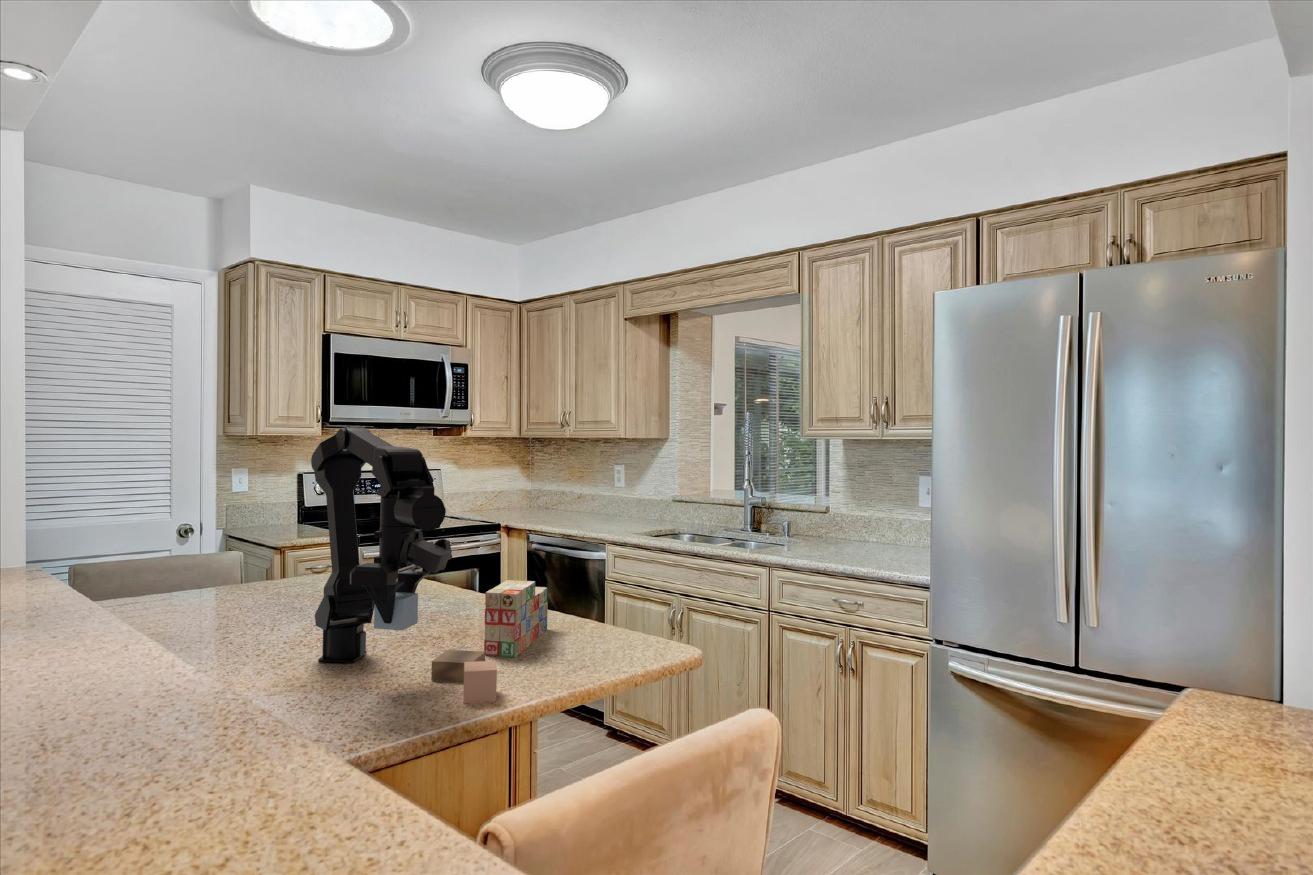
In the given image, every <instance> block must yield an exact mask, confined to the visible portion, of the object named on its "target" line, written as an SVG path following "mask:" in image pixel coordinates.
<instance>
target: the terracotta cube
mask: <svg viewBox="0 0 1313 875" xmlns="http://www.w3.org/2000/svg"><path fill="white" fill-rule="evenodd" d="M497 675H498V667H497V660H485V661H478V662H464V682H463V698H462V699H463V701H462V702H463V704H470V703H472V704H474V703H488V702H489V703H491V702H497V681H498V680H497V679H498V676H497Z"/></svg>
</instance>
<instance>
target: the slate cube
mask: <svg viewBox="0 0 1313 875" xmlns="http://www.w3.org/2000/svg"><path fill="white" fill-rule="evenodd" d="M418 606H419V593H417V592H415V593H405V592H396V595H395V603H394V611H393V617H392V622H391V623H390V624H387V623H384V622H383V620H382V618H381V615H380V613H379V611H378V609H377V607H376V605H374V611H373V615H374V616H373V629H374V630H375V629H376V630H377V629H378V630H391V631H405V630H407V629H409V628H411V627H412V626H414V625H417V624H418V621H419V620H418V618H419V617H418V612H419V607H418Z"/></svg>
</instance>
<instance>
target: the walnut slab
mask: <svg viewBox="0 0 1313 875" xmlns="http://www.w3.org/2000/svg"><path fill="white" fill-rule="evenodd" d="M478 661H486V655H485V652H484V650H480V651H479V650H478V651H477V650H461V649H460V650H459V649H446V650H445V651H443V652H442V653H441V654H440V655H438V656H437V657H435V658H434V659H433V660H431V679H430V680H431V681H439V682H440V681H441V682H442V681H443V682H457V683H459V682H460V683H464V662H478Z"/></svg>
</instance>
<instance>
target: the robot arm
mask: <svg viewBox="0 0 1313 875" xmlns="http://www.w3.org/2000/svg"><path fill="white" fill-rule="evenodd" d="M310 459H311V460H310V463H311V469H312V470H313V472H314V477H315V478H314V480H315V482H316V484H317V485H318V486H319V487H320V489H321V490H322V491H323V493H324V494H325V497H326V498H325V499H326V510H327V512H326V513H327V523H328V536H329V546H330V547H329V550H330V560H331V561H330V563H331V564H330V565H331V574H330V575H329V578H328V579H327V581H326V583H325V585H324V587H323V597H322V600H321V601H320V603H319V605H318V607H317V609H316V611H315V613H314V621H315V626H316V627H317V628H320V629H322V656H321V657H319V658H318V660H317V661H318V663H339V664H341V663H342V664H343V663H344V664H346V663H347V664H348V663H349V664H353V663H355V662H357V660H359V659H360V658H362V657H363V656H365V655H367V653H368V651H367V648H366V647H367V643H366V642H367V631H365V630H364V626H365V625H364V624H371V623H372V619H373V617H374V616H373V615H374V605H376V607H377V609H378V611H379V613H380V615H381V618H382V620H383V622H384V623H387V624H390V623H391V622H392V617H393V611H394V603H395V595H396V592H405V593H416V591H417V588H418V585H419V584H420V582H421V581H423V580H424V578H426V577H427V576H429V574H430V573H431V574H436V573H438V572H440V571H444V570H445V569H446V566H447V563H448V561H449V560H451V559H452V558H453V554H452V552H453V549H452V546H451V540H449V539H445V538H440V539H438V540H437V541H435V542H434V541H427V540H425V539H424V538H423V537H424V534H423V533H424V532H422V531H426V532H427V531H429V532H431V531H435V529H438V528H439V527H440V526H441V525H442V523H443V522H444V521H445V517H446V512H447V511H446V507H445V504H444V502H443V500H442V499H441V497H439V496H438V495H436V494H435V486H434V477H433V475H432V474H431V472H430V469H429V467H428V464H427V462H426V459H425V457H424V455H423V454H422V452H421V450H420V449H418V448H412V447H407V446H406V447H405V446H395V445H393V444H391V443H389V442H388V441H386V440H384V439H382V438H380V437H379V436H377V435H375V434H373V433H372V432H371V431H370V430H369V428H368V429H367V428H366V427H347V426H346V427H342V428H339V429H338V430H337V432H336V434H334V435H332V436H331V437H329V438H327V439H324V440H323V441H321V442H320V443H319V444H318V446H317V447H316V448H315V450H314V451H313V453H312V455H311V458H310ZM366 463H367V464H369V466H371V474H372V476H374V478H375V479H376V480H377V481H378V483H379V485H380V487H379V488H378V489H377V491H376V495H377V496H379V497H380V503H379V504H380V505H379V506H380V511H379V512H380V513H379V515H380V516H379V530H377V531H374V533H373V535H374V537H373V538H374V539H379V548H378V549H379V550H378V553H379V554H378V555H377V556H376V555H375V556H373V562H366V563H362V564H361V563H360V562H361V561H360V552H359V542H358V540H359V539H358V529H357V516H356V504H355V488H356V486H357V485H358V483H359V481H360V480H361V478H362V468H363V467H364V466H365V465H366ZM423 569H424V570H425V571H423Z"/></svg>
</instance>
